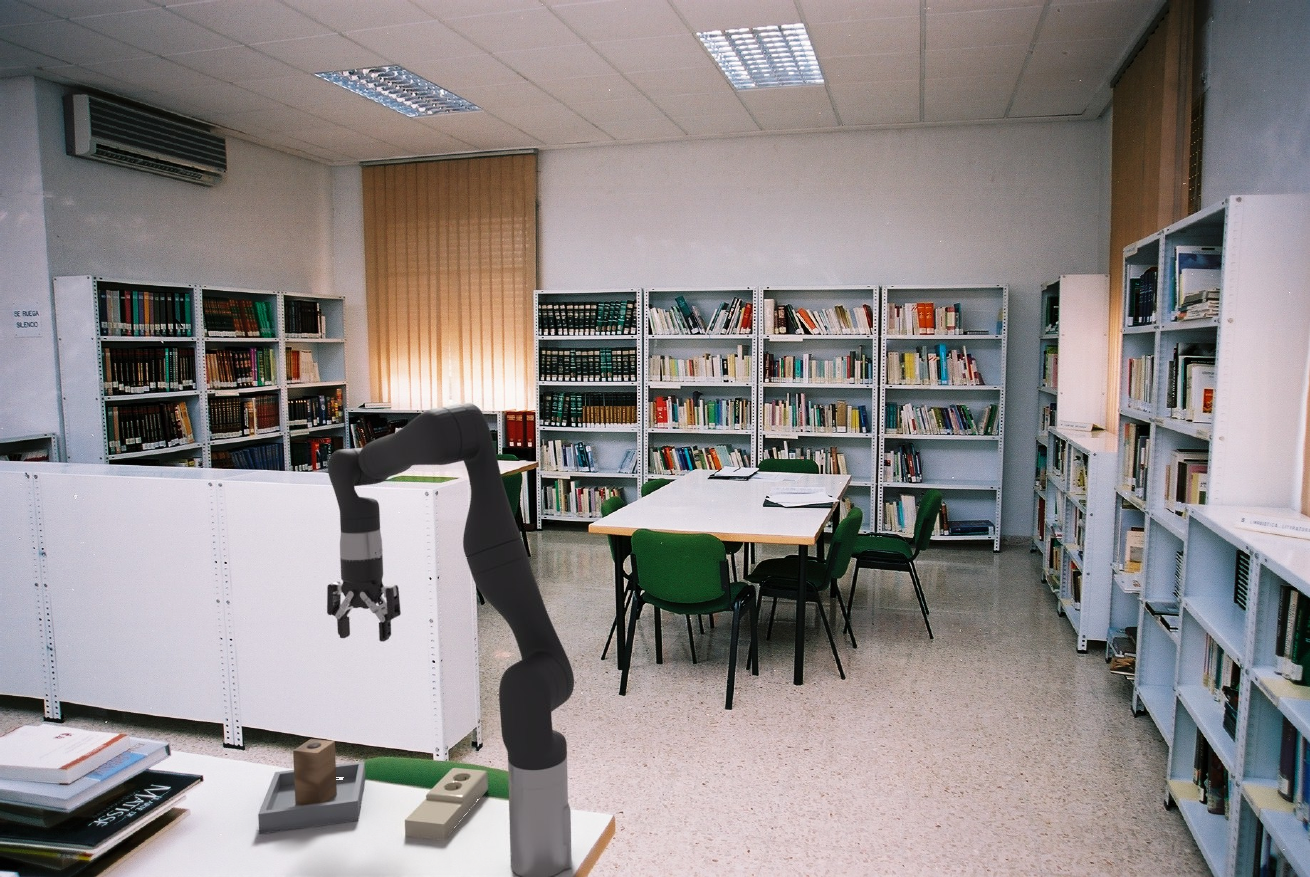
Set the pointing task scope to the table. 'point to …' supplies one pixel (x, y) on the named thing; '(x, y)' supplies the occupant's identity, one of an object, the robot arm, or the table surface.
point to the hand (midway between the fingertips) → (364, 638)
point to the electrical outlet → (446, 804)
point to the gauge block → (314, 772)
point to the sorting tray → (287, 816)
